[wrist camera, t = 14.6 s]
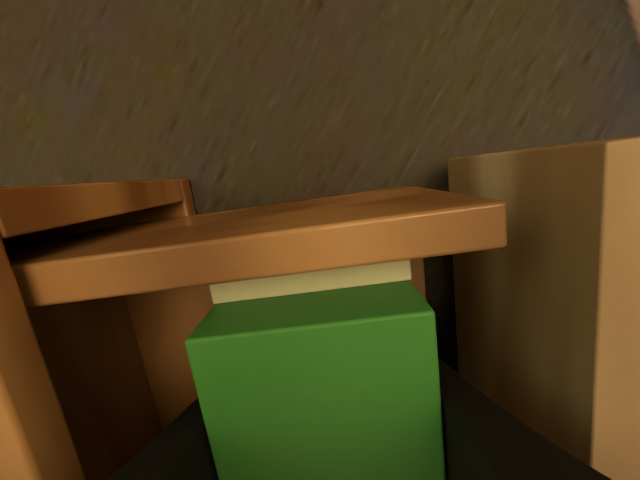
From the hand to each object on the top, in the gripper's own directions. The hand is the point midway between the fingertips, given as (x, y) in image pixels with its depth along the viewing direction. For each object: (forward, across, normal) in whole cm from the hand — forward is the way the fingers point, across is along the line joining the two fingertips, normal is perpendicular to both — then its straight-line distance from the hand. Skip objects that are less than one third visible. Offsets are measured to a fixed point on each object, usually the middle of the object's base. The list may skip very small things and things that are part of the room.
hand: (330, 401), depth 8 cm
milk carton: (+1, 0, 0) cm, 1 cm away
